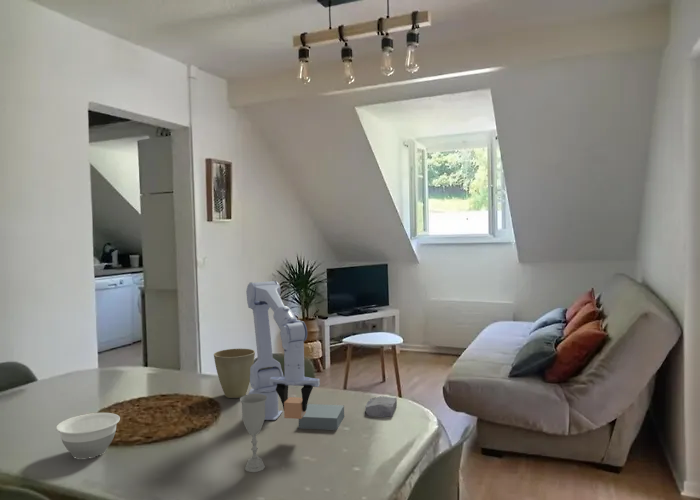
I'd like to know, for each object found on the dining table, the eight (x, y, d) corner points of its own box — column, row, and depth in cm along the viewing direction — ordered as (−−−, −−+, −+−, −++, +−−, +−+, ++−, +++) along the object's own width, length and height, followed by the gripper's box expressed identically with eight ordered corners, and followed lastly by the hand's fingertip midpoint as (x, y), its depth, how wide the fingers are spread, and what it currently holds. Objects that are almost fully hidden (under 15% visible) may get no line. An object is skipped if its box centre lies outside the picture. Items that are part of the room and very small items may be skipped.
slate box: (298, 429, 164) (298, 416, 164) (308, 415, 176) (308, 403, 176) (337, 431, 162) (336, 418, 162) (344, 417, 174) (344, 405, 174)
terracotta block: (284, 418, 154) (284, 402, 153) (289, 412, 159) (289, 397, 158) (301, 418, 153) (300, 403, 153) (305, 412, 158) (305, 397, 157)
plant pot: (264, 392, 200) (263, 350, 200) (235, 404, 188) (234, 359, 187) (235, 387, 208) (234, 346, 208) (206, 397, 196) (204, 354, 195)
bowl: (78, 470, 137) (77, 437, 137) (45, 457, 146) (43, 426, 146) (133, 448, 151) (132, 418, 151) (99, 437, 159) (98, 408, 159)
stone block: (365, 422, 174) (395, 417, 172) (362, 407, 174) (391, 402, 172) (371, 411, 185) (399, 406, 183) (368, 397, 186) (396, 392, 184)
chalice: (243, 462, 141) (241, 394, 140) (269, 460, 141) (267, 393, 140) (239, 474, 133) (238, 403, 133) (267, 473, 134) (265, 402, 133)
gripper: (265, 366, 152) (266, 413, 153) (315, 368, 150) (316, 415, 150) (273, 360, 159) (274, 405, 160) (321, 361, 157) (321, 407, 157)
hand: (295, 410), depth 156 cm, fingers closed on terracotta block, 5 cm apart
